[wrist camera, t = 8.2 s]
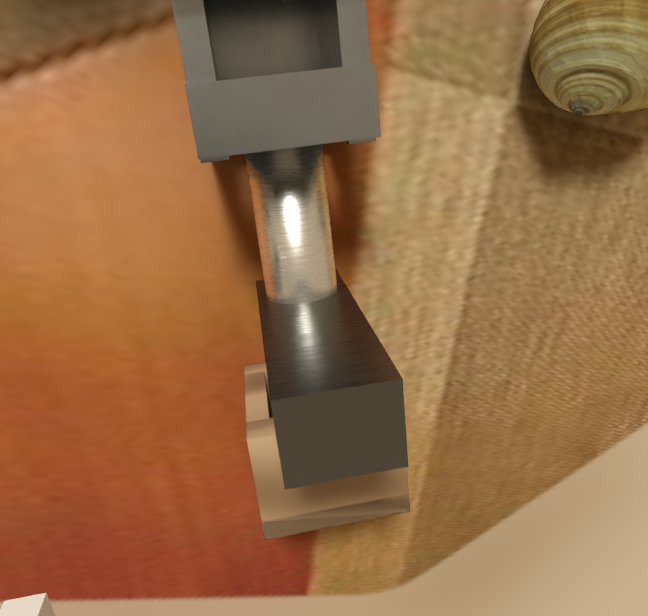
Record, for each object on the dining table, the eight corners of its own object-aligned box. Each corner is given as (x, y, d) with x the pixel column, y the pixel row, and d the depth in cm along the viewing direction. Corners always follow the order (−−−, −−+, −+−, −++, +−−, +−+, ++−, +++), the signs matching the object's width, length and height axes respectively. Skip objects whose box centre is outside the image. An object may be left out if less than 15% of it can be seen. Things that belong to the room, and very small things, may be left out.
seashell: (591, -37, 29) (599, -171, 22) (745, -15, 27) (812, -161, 19) (513, 139, 30) (496, 65, 23) (655, 178, 27) (688, 108, 20)
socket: (244, 365, 30) (246, 440, 23) (367, 345, 30) (403, 412, 24) (258, 449, 32) (265, 539, 25) (374, 428, 32) (410, 511, 26)
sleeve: (167, -83, 23) (141, -154, 16) (325, -96, 23) (359, -169, 17) (208, 149, 26) (199, 165, 19) (345, 132, 26) (381, 142, 20)
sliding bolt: (230, 122, 25) (228, 140, 14) (319, 112, 26) (385, 121, 14) (278, 422, 31) (303, 605, 20) (350, 409, 31) (415, 582, 20)
